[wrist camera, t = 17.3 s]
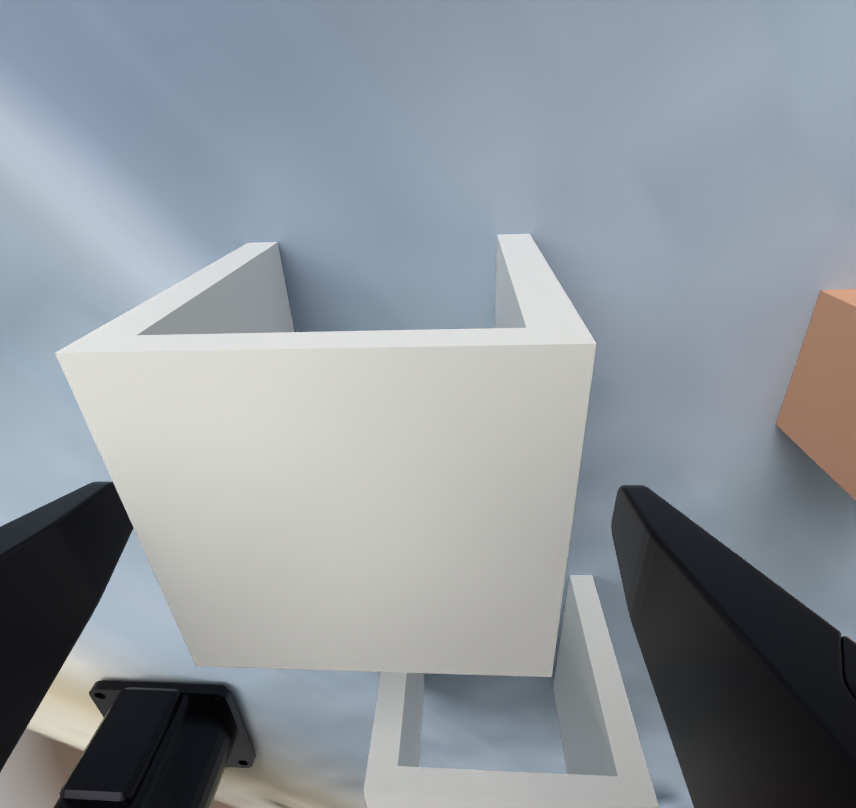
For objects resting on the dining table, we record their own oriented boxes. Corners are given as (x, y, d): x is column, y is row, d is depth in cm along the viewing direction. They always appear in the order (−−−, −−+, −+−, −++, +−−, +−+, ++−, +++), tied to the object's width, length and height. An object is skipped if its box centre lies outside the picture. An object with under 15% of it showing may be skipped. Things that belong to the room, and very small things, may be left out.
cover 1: (516, 462, 16) (551, 677, 10) (295, 462, 16) (195, 666, 10) (529, 234, 12) (596, 343, 6) (247, 243, 13) (54, 353, 7)
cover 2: (571, 688, 21) (615, 912, 15) (406, 682, 22) (385, 896, 16) (592, 575, 18) (658, 806, 12) (395, 571, 18) (362, 791, 12)
